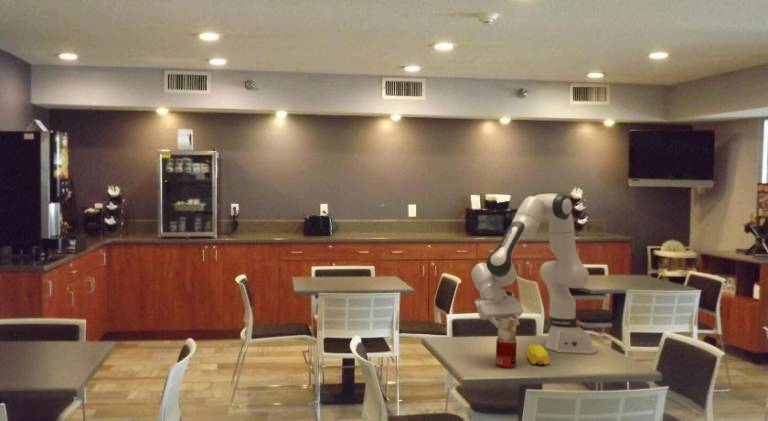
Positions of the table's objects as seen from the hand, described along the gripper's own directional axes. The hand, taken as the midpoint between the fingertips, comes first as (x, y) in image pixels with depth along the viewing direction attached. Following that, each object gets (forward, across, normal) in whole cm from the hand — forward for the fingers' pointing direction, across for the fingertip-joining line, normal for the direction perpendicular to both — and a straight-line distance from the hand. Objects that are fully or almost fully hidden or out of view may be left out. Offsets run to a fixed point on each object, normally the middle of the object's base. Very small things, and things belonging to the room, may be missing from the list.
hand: (508, 325), depth 301 cm
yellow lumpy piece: (+11, +18, +13) cm, 24 cm away
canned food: (+11, 0, +12) cm, 17 cm away
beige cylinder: (+3, 0, +4) cm, 5 cm away
